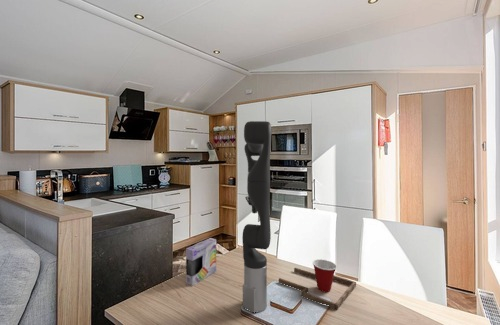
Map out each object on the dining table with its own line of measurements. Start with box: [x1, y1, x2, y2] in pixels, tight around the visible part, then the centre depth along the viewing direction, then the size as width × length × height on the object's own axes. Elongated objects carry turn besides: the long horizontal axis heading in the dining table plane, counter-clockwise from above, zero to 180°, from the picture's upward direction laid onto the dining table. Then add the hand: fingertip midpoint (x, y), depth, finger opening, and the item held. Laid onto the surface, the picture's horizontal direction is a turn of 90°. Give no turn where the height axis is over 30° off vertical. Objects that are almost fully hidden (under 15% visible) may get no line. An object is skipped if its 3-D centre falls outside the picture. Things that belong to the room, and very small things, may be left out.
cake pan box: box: [185, 237, 217, 287], centre depth 129 cm, size 19×5×18 cm, turn 148°
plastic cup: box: [312, 259, 338, 293], centre depth 118 cm, size 11×11×12 cm
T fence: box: [278, 267, 357, 311], centre depth 121 cm, size 24×30×2 cm
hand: (254, 213), depth 137 cm, fingers closed
